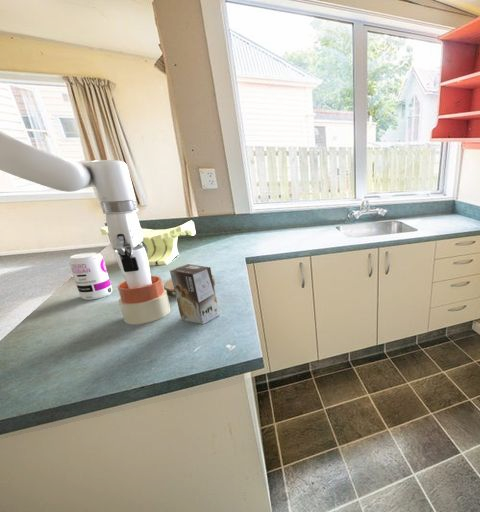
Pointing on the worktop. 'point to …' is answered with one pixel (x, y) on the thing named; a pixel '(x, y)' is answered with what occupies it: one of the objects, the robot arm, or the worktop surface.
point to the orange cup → (141, 291)
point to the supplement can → (90, 275)
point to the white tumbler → (143, 274)
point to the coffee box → (195, 293)
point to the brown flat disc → (170, 289)
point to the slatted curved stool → (162, 242)
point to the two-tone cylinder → (145, 310)
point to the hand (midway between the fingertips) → (136, 266)
